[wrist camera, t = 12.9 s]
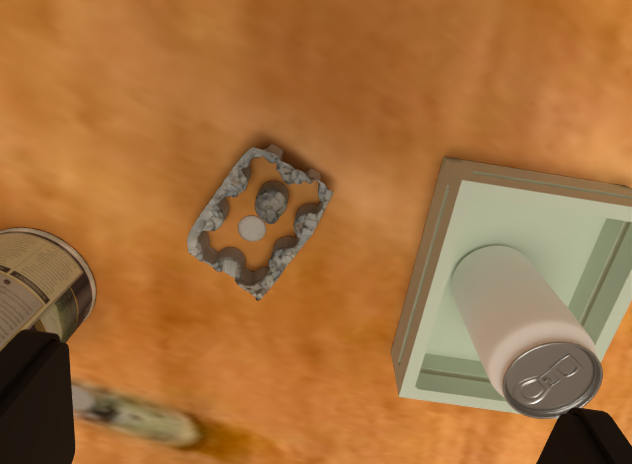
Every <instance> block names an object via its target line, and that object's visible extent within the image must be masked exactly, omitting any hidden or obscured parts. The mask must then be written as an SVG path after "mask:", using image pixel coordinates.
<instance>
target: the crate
mask: <svg viewBox="0 0 632 464" xmlns="http://www.w3.org/2000/svg"><path fill="white" fill-rule="evenodd" d="M488 246H507V247H511V248H513V249H516V250H518V251H519V252H521V253H522V254H523V255H525V256H526V257H527V259H528V260H529V261H530V262H531V263H532V264H533V266H534V267H535V268H536V269H537V270H538V272H539V273H540V274H541V275H542V277H543V278H544V279H545V280H546V282H547V283H548V284H549V285H550V287H551V288H552V289H553V290H554V291H555V293H556V294H557V295H558V296H559V298H560V299H561V300H562V301H563V303H564V304H565V305H566V306H567V308H568V309H569V310H570V311H571V313H572V314H573V315H574V316H575V318H576V319H577V320H578V322H579V323H580V324H581V325H582V327H583V328H584V329H585V331H586V332H587V333H588V335H589V336H590V338H591V339H592V341H593V343H594V345H595V348H596V353H597V358H598V359H599V361H600V363H601V361H602V359H603V357H604V355H605V353H606V351H607V349H608V347H609V345H610V343H611V341H612V339H613V337H614V335H615V333H616V331H617V329H618V327H619V324H620V322H621V320H622V318H623V316H624V314H625V312H626V310H627V308H628V306H629V304H630V302H631V300H632V189H631V188H629V187H627V186H623V185H616V184H610V183H604V182H598V181H591V180H585V179H579V178H573V177H566V176H560V175H554V174H548V173H541V172H535V171H529V170H523V169H517V168H510V167H504V166H498V165H492V164H485V163H479V162H473V161H467V160H460V159H454V158H448V157H443V161H442V165H441V168H440V172H439V176H438V180H437V183H436V187H435V191H434V194H433V198H432V202H431V206H430V209H429V213H428V217H427V220H426V224H425V228H424V232H423V235H422V239H421V243H420V246H419V250H418V254H417V258H416V261H415V265H414V269H413V272H412V276H411V280H410V284H409V287H408V291H407V295H406V298H405V302H404V306H403V310H402V313H401V317H400V321H399V324H398V328H397V332H396V335H395V339H394V343H393V347H392V350H391V355H392V361H393V367H394V372H395V378H396V383H397V389H398V395H399V397H405V398H412V399H419V400H426V401H433V402H440V403H447V404H454V405H461V406H468V407H475V408H482V409H490V410H497V411H504V412H511V413H518V414H521V413H519V412H517V411H516V410H514V409H513V408H512V407H511V406H510V405H509V404H508V402H507V401H506V399H505V398H504V397H503V396H501V395H500V394H499V393H498V392H497V391H496V390H495V388H494V387H493V385H492V384H491V382H490V380H489V378H488V376H487V374H486V371H485V369H484V367H483V365H482V362H481V360H480V358H479V356H478V353H477V351H476V349H475V347H474V344H473V342H472V340H471V337H470V335H469V333H468V330H467V328H466V326H465V323H464V321H463V319H462V316H461V314H460V312H459V309H458V307H457V305H456V302H455V300H454V297H453V294H452V289H451V281H452V276H453V273H454V271H455V269H456V268H457V266H458V265H459V263H460V262H461V261H462V260H463V259H464V258H465V257H466V256H468V255H469V254H471V253H472V252H474V251H476V250H478V249H481V248H484V247H488ZM558 418H559V417H558ZM558 418H553V419H558Z"/></svg>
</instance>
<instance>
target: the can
mask: <svg viewBox="0 0 632 464" xmlns="http://www.w3.org/2000/svg"><path fill="white" fill-rule="evenodd" d="M451 289H452V294H453V297H454V300H455V302H456V305H457V307H458V309H459V312H460V314H461V316H462V319H463V321H464V323H465V326H466V328H467V330H468V333H469V335H470V337H471V340H472V342H473V344H474V347H475V349H476V351H477V353H478V356H479V358H480V360H481V362H482V365H483V367H484V369H485V371H486V374H487V376H488V378H489V380H490V382H491V384H492V385H493V387H494V388H495V390H496V391H497V392H498V393H499V394H500V395H501V396H503V397H504V398H505V399H506V401H507V402H508V404H509V405H510V406H511V407H512V408H513V409H514V410H516V411H517V412H519V413H521V414H523V415H525V416H528V417H532V418H538V419H551V418H558V417H559V416H560V415H562V414H566V413H567V412H568V410H569V409H571V408H573V407H577V408H582V407H583V406H585V405H586V404H587V403H588V402H590V401H591V400H592V398H593V397H594V396H595V395H596V393H597V392H598V390H599V388H600V386H601V383H602V378H603V371H602V366H601V363H600V361H599V359H598V358H597V353H596V348H595V345H594V343H593V341H592V339H591V338H590V336H589V335H588V333H587V332H586V331H585V329H584V328H583V327H582V325H581V324H580V323H579V322H578V320H577V319H576V318H575V316H574V315H573V314H572V313H571V311H570V310H569V309H568V308H567V306H566V305H565V304H564V303H563V301H562V300H561V299H560V298H559V296H558V295H557V294H556V293H555V291H554V290H553V289H552V288H551V287H550V285H549V284H548V283H547V282H546V280H545V279H544V278H543V277H542V275H541V274H540V273H539V272H538V270H537V269H536V268H535V267H534V266H533V264H532V263H531V262H530V261H529V260H528V259H527V257H526V256H525V255H523V254H522V253H521V252H519V251H518V250H516V249H513V248H511V247H507V246H488V247H484V248H481V249H478V250H476V251H474V252H472V253H471V254H469V255H468V256H466V257H465V258H464V259H463V260H462V261H461V262H460V263H459V265H458V266H457V268H456V269H455V271H454V273H453V276H452V281H451Z"/></svg>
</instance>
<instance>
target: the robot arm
mask: <svg viewBox="0 0 632 464" xmlns="http://www.w3.org/2000/svg"><path fill="white" fill-rule="evenodd" d="M74 454H75V434H74V419H73V405H72V389H71V375H70V360H69V348H68V345H67V344H66V343H62V342H61V340H60V337H59V335H58V334H56V333H50V332H43V331H36V330H29V329H24V330H21V331H20V332H19V333H17V334H16V335H15V336H14V337H13V338H12V339H11V340H10V341H9V342H8V343H7V345H6V346H5V347H4V348H3V349H2V350H1V351H0V464H71V463H72V461H73V458H74ZM536 464H632V446H631V445H630V443H629V442H628V440H627V439H626V437H625V436H624V435H623V433H622V432H621V430H620V429H619V427H618V426H617V424H616V423H615V422H614V420H613V419H612V417H611V416H610V415H609V414H608V413H606V412H604V411H598V410H591V409H584V408H577V407H573V408H571V409H569V410H568V412H567V413H566V414H562V415H560V416H559V418H558V419H557V422H556V424H555V426H554V428H553V430H552V432H551V434H550V436H549V438H548V440H547V442H546V445H545V447H544V449H543V451H542V453H541V455H540V457H539V459H538V461H537V463H536Z"/></svg>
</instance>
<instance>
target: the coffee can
mask: <svg viewBox="0 0 632 464" xmlns="http://www.w3.org/2000/svg"><path fill="white" fill-rule="evenodd" d="M95 299H96V286H95V281H94V278H93V275H92V272H91V270H90V268H89V266H88V265H87V263H86V262H85V260H84V259H83V258H82V257H81V255H80V254H79V253H78V252H77V251H76V250H75V249H74V248H72V247H71V246H70V245H69V244H67V243H66V242H64V241H63V240H61V239H59V238H58V237H56V236H54V235H52V234H50V233H47V232H44V231H39V230H36V229H32V228H11V229H6V230H2V231H0V351H1V350H2V349H3V348H4V347H5V346H6V345H7V343H8V342H9V341H10V340H11V339H12V338H13V337H14V336H15V335H16V334H17V333H19V332H20V331H21V330H24V329H29V330H36V331H43V332H50V333H56V334H58V335H59V337H60V340H61V342H62V343H66V342H67V340H68V339H69V338H70V337H71V335H72V334H73V333H74V332H75V330H76V329H77V328H78V327H79V326H80V324H81V323H82V322H83V321H85V319H86V318H87V317H88V316H89V314H90V313H91V311H92V309H93V307H94V304H95Z"/></svg>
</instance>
